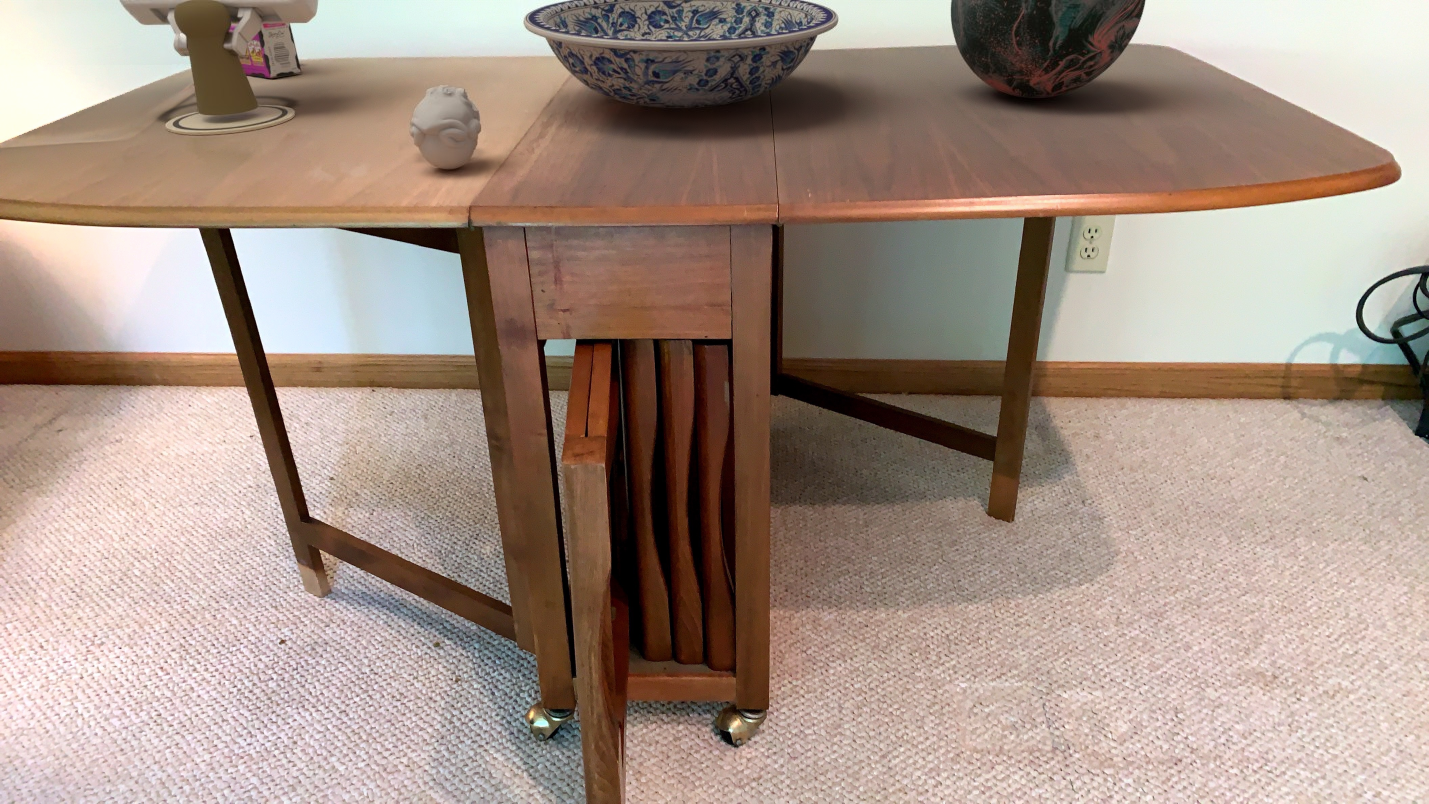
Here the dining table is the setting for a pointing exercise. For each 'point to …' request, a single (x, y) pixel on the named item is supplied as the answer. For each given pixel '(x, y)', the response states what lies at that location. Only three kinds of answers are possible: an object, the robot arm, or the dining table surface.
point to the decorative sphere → (1042, 41)
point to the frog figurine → (446, 127)
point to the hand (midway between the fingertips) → (209, 52)
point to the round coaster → (230, 121)
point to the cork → (213, 59)
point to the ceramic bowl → (681, 46)
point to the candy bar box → (271, 52)
